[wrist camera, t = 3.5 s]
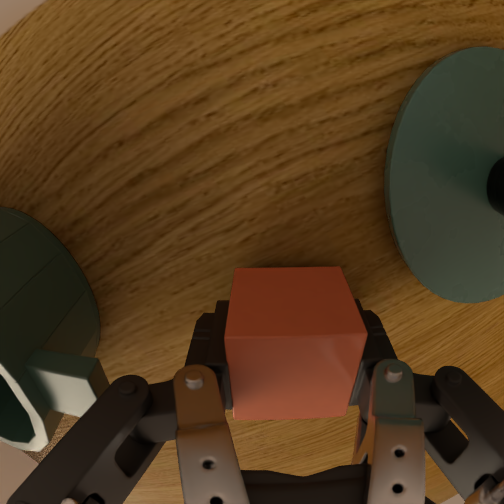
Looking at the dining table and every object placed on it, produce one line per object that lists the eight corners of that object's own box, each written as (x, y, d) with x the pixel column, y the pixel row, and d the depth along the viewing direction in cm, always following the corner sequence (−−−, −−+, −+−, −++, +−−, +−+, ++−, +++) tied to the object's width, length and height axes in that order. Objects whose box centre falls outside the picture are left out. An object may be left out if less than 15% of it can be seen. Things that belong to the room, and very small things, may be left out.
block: (234, 267, 12) (223, 337, 9) (340, 265, 12) (368, 333, 8) (239, 346, 14) (233, 420, 10) (330, 345, 14) (345, 416, 10)
